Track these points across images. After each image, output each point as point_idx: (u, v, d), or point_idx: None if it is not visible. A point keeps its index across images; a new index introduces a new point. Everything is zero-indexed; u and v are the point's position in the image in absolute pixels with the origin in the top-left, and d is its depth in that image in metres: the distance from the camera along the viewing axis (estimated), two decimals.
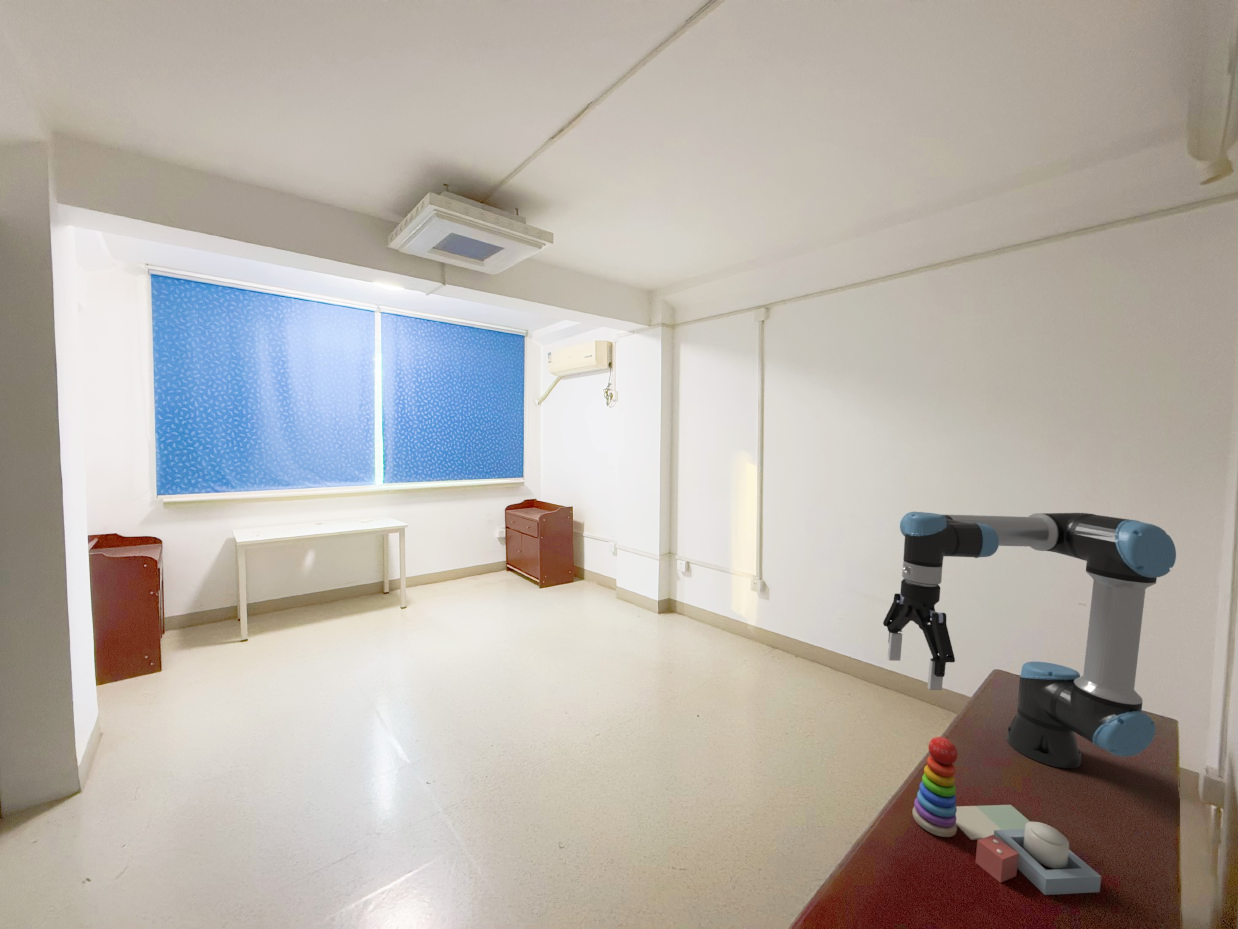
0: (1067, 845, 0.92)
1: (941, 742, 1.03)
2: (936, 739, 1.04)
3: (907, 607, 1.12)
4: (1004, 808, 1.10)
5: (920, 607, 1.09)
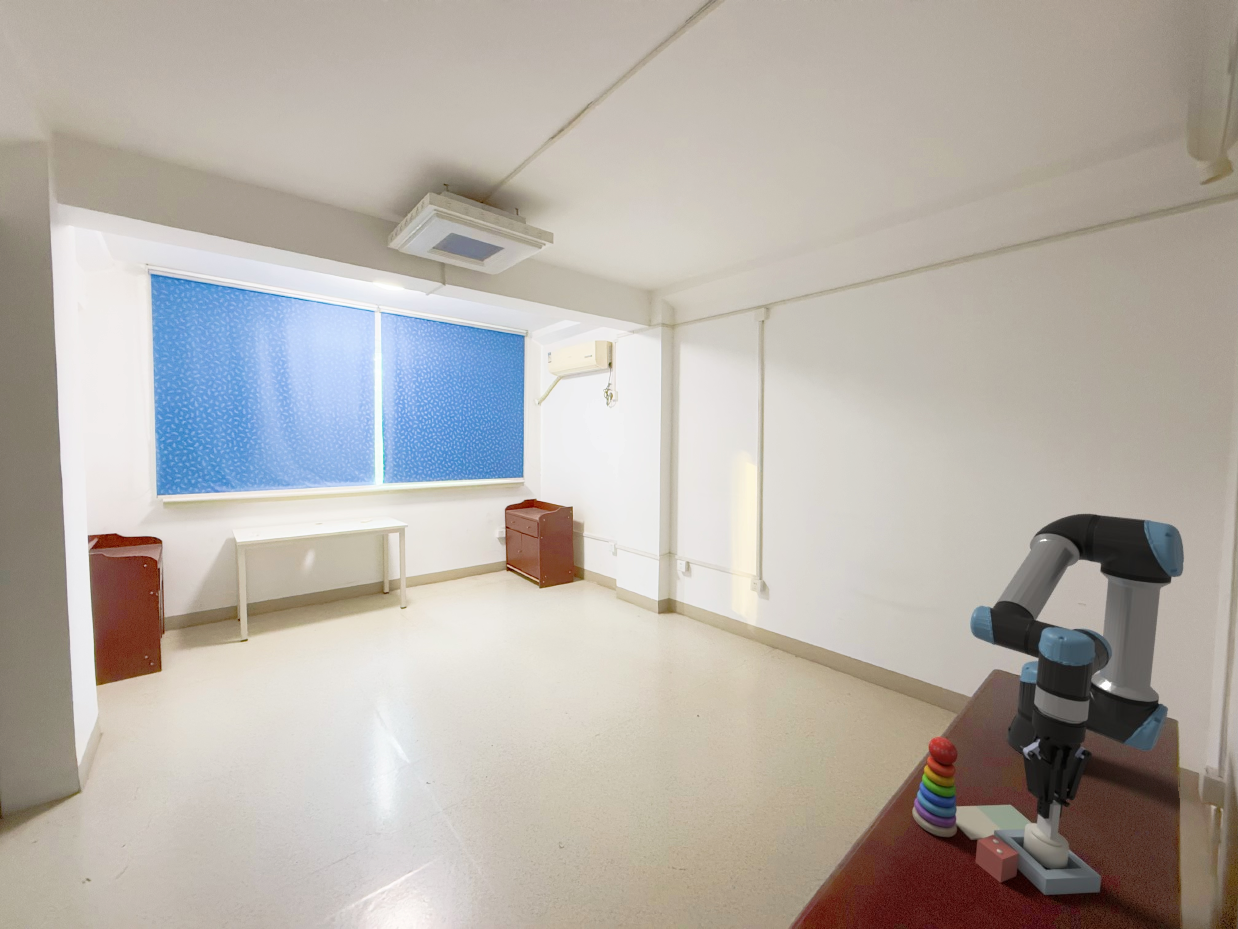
0: (1067, 847, 0.92)
1: (942, 742, 1.03)
2: (936, 739, 1.04)
3: None
4: (1004, 808, 1.10)
5: None
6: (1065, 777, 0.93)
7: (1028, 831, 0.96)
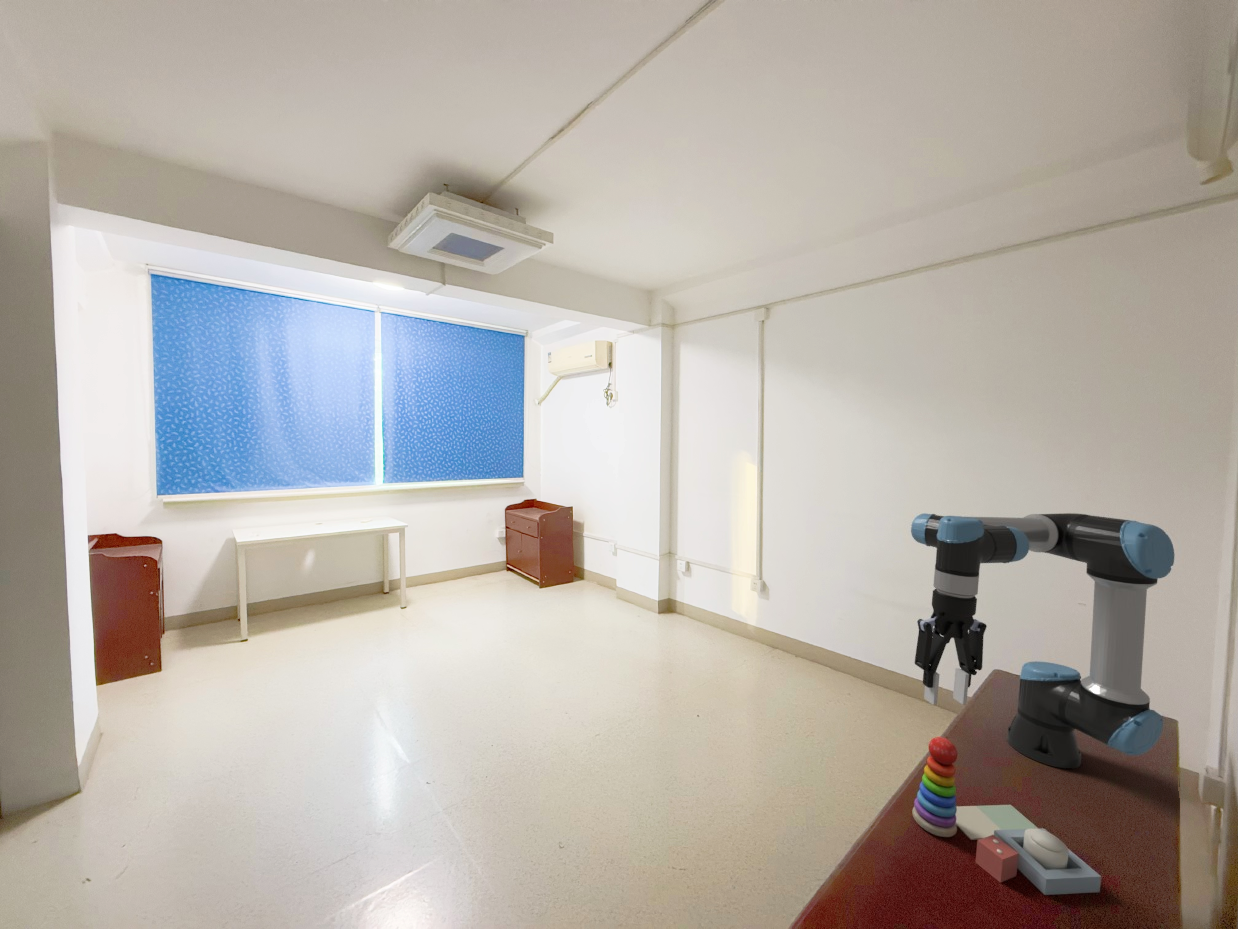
0: (1066, 852, 0.92)
1: (942, 742, 1.03)
2: (936, 739, 1.04)
3: None
4: (1004, 808, 1.10)
5: None
6: (967, 649, 1.01)
7: (1027, 836, 0.96)
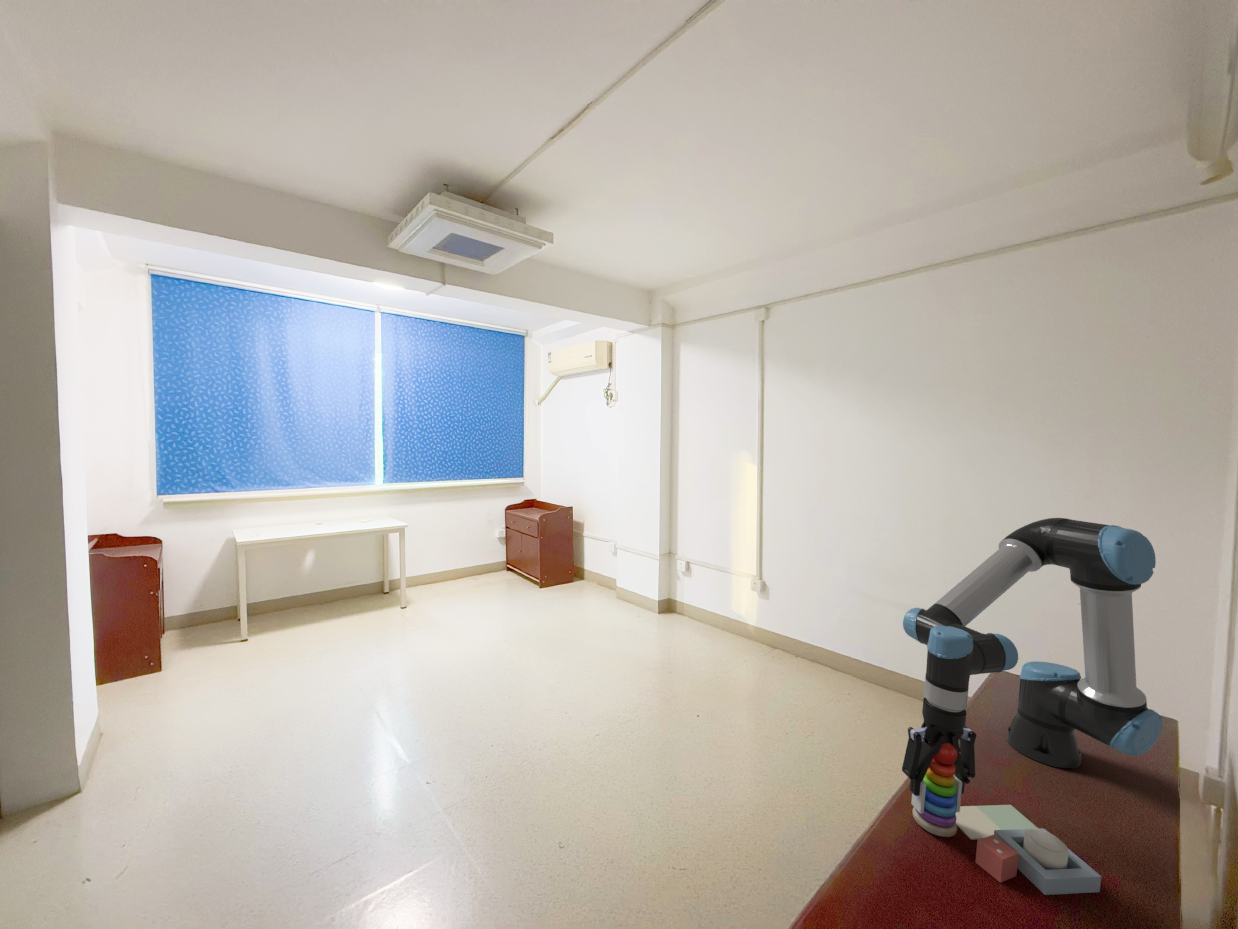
0: (1066, 852, 0.92)
1: None
2: None
3: None
4: (1004, 808, 1.10)
5: None
6: (958, 759, 1.03)
7: (1027, 836, 0.96)
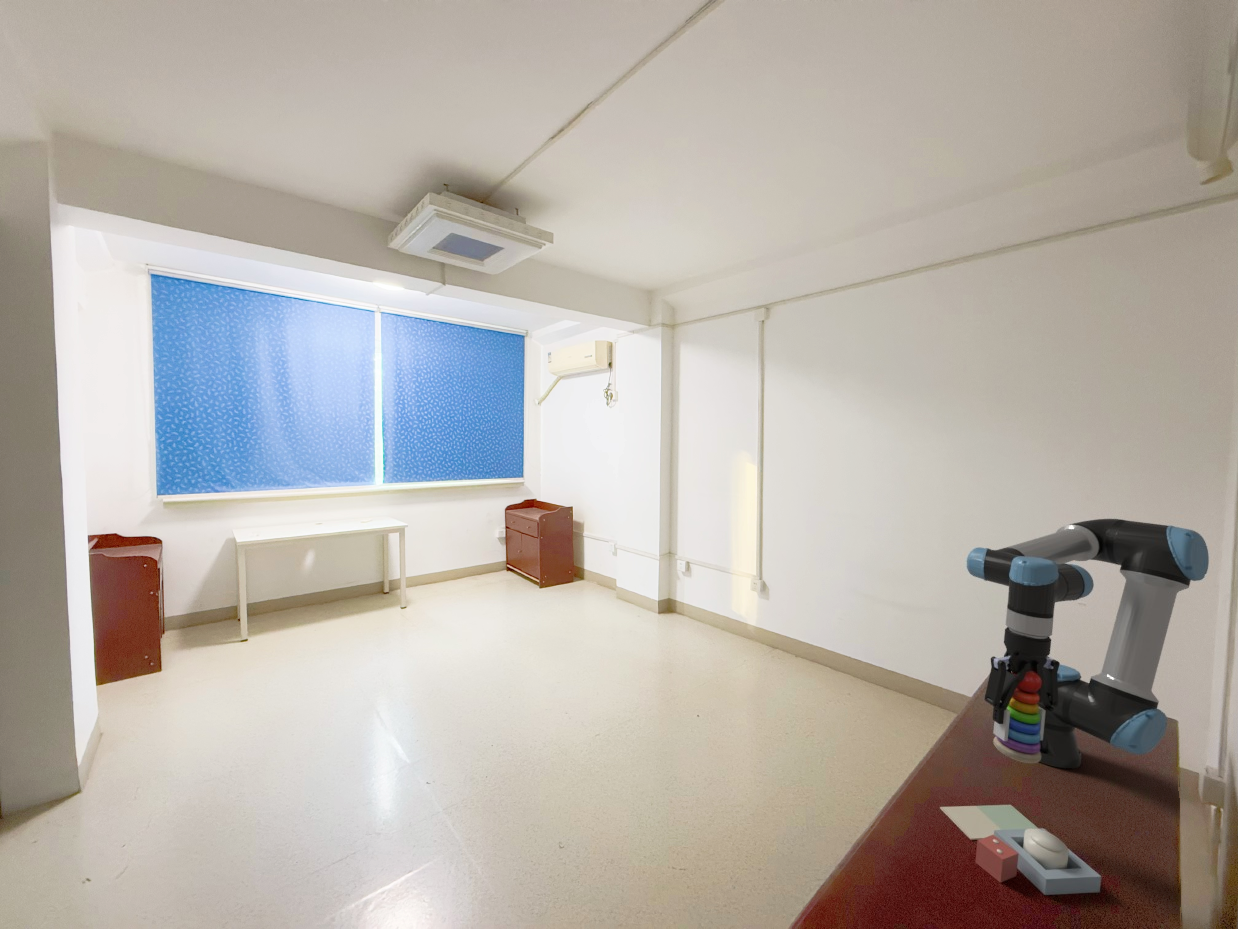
0: (1066, 852, 0.92)
1: None
2: None
3: None
4: (1004, 808, 1.10)
5: None
6: (1042, 687, 1.04)
7: (1027, 836, 0.96)
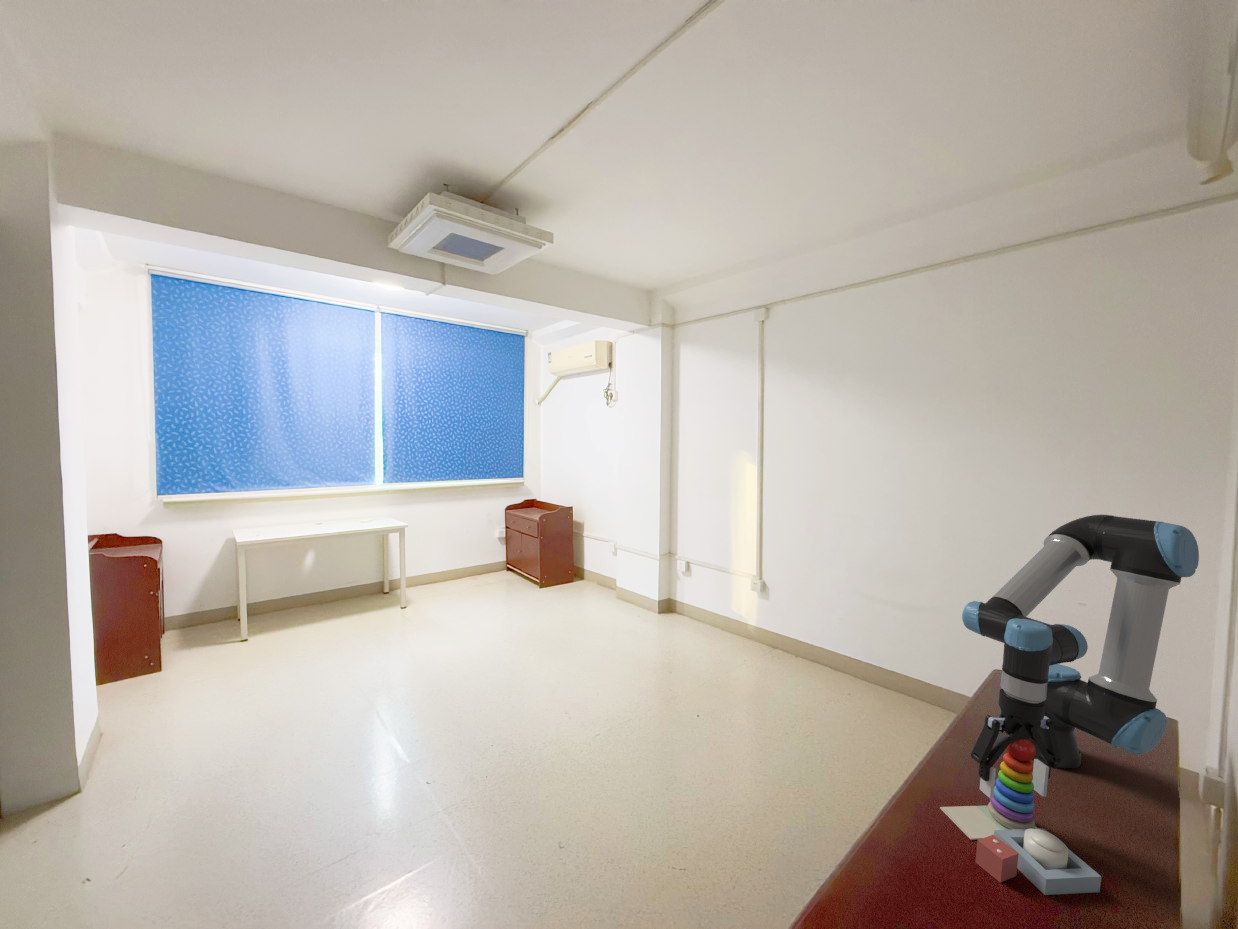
0: (1066, 852, 0.92)
1: None
2: None
3: None
4: None
5: None
6: (1041, 746, 1.04)
7: (1027, 836, 0.96)
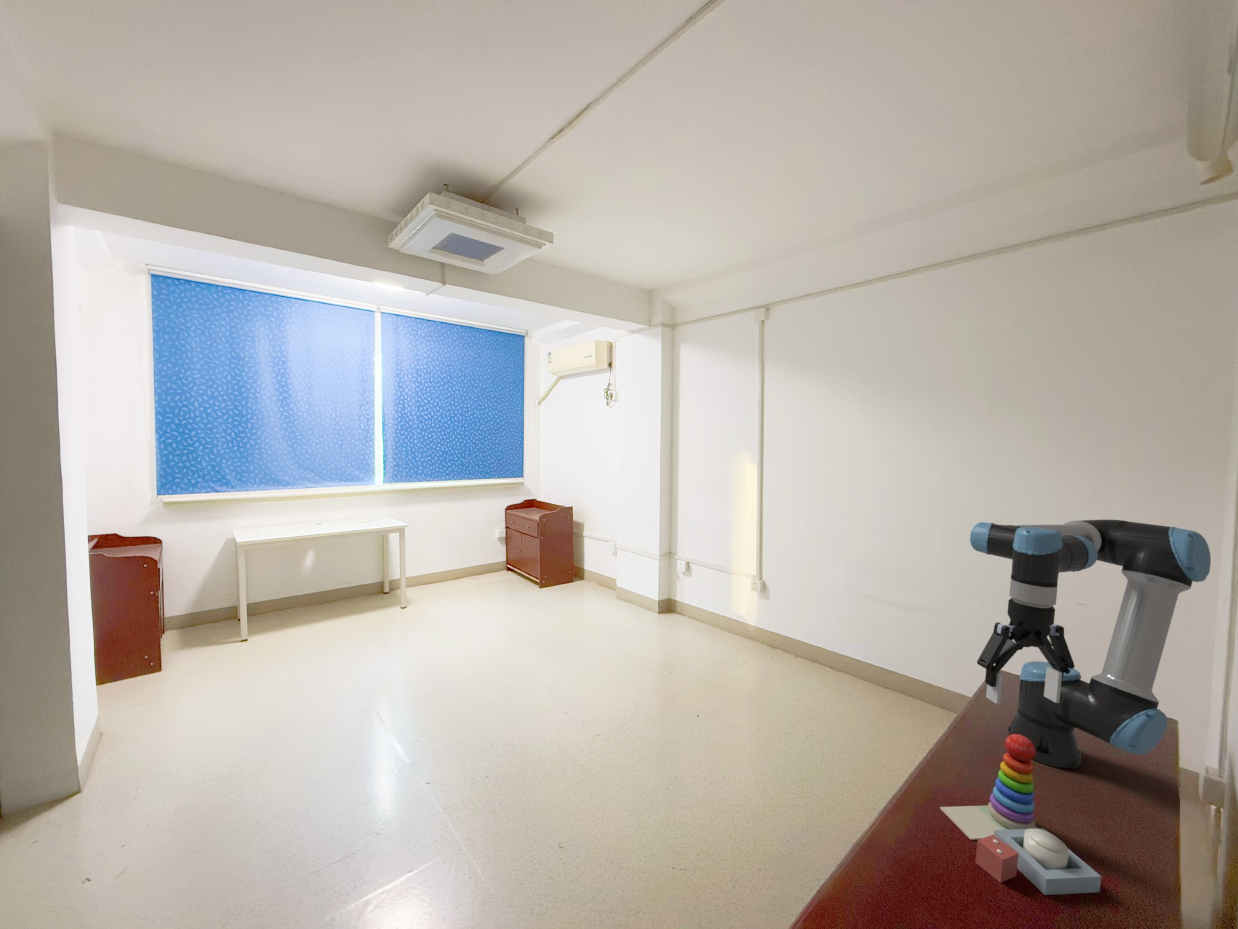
0: (1066, 852, 0.92)
1: (1019, 739, 1.04)
2: (1013, 736, 1.05)
3: None
4: None
5: None
6: (1052, 653, 1.04)
7: (1027, 836, 0.96)
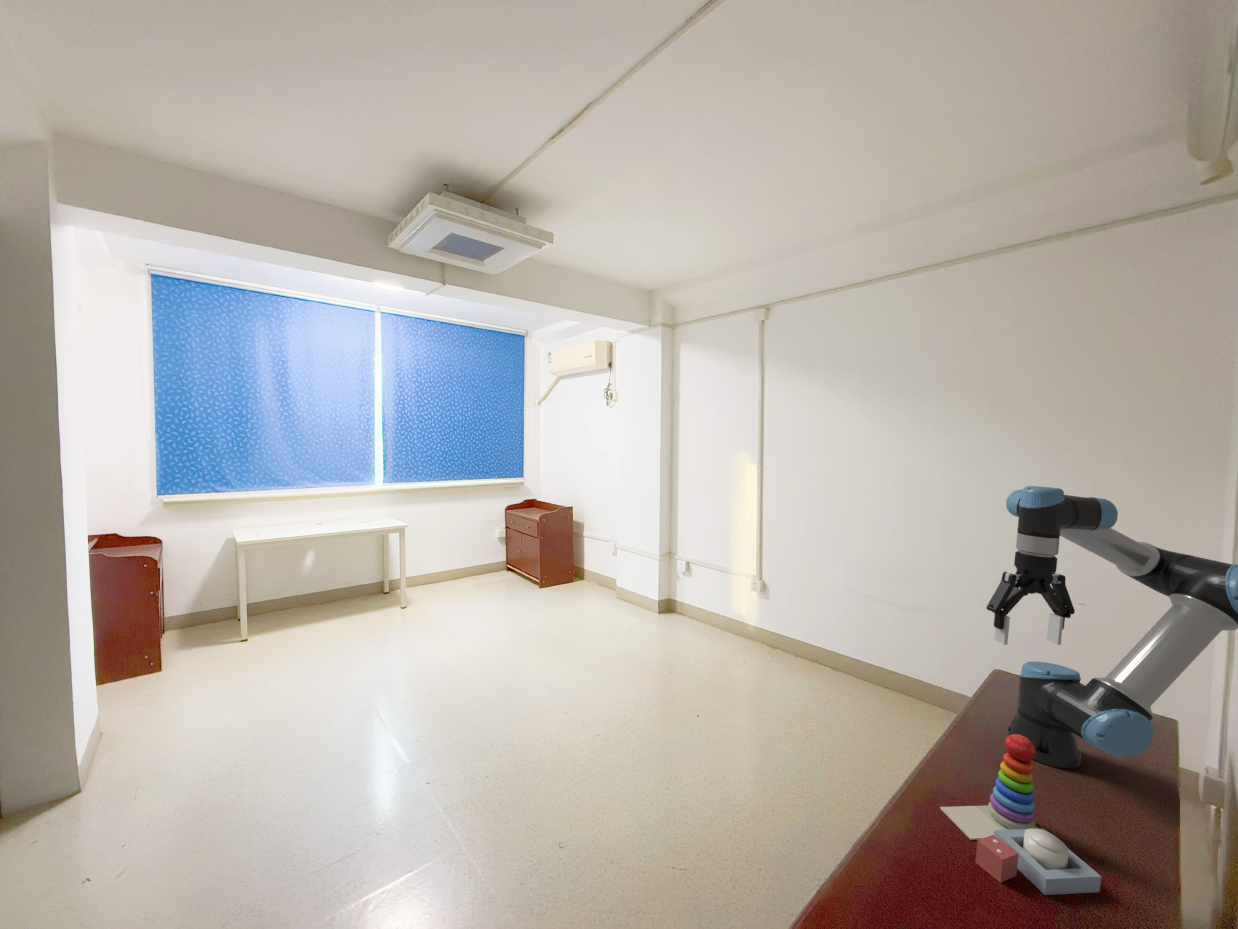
0: (1066, 852, 0.92)
1: (1020, 739, 1.04)
2: (1013, 736, 1.05)
3: None
4: None
5: None
6: (1055, 599, 1.15)
7: (1027, 836, 0.96)
